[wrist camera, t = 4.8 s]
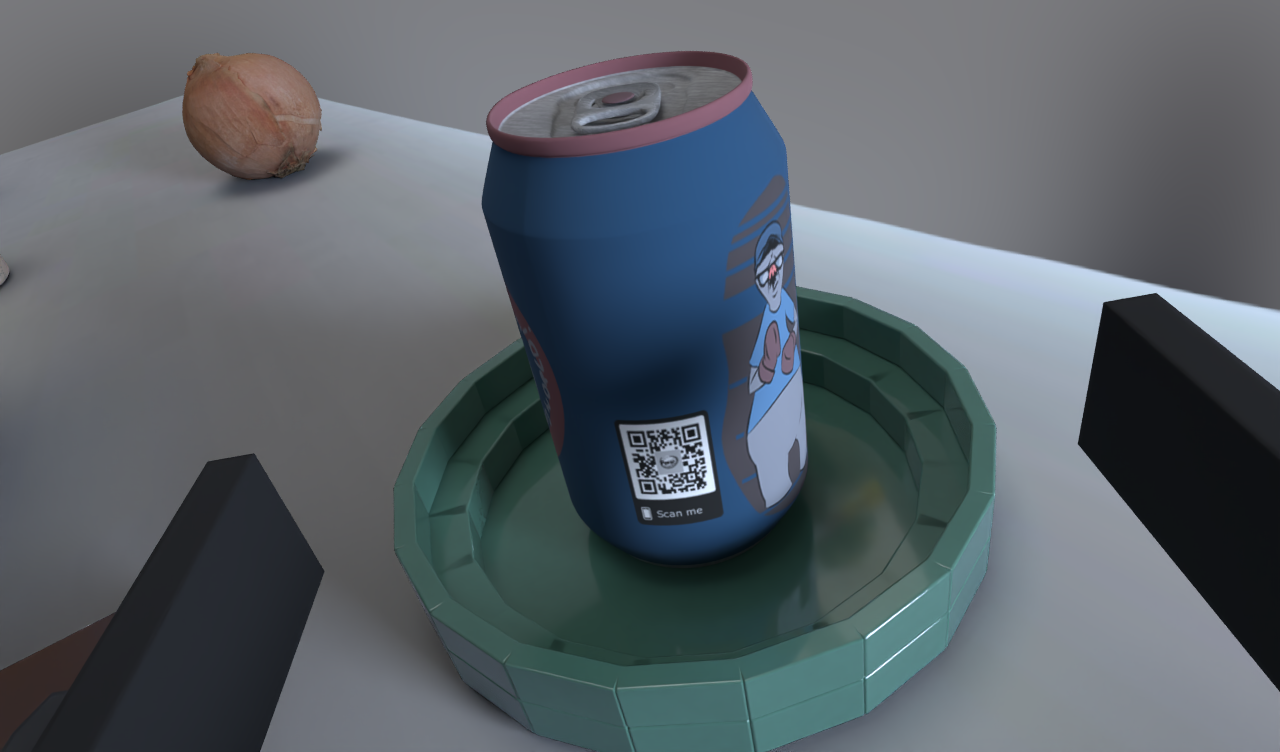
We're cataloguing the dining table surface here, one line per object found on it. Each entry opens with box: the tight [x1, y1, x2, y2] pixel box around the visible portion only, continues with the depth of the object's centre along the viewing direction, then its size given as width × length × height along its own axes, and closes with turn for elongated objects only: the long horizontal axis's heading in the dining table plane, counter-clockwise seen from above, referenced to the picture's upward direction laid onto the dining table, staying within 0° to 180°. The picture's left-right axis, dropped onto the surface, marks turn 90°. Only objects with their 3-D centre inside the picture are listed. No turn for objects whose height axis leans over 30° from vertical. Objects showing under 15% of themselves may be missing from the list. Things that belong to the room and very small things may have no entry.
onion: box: [182, 53, 322, 180], centre depth 58 cm, size 10×9×10 cm
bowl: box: [393, 286, 997, 752], centre depth 23 cm, size 16×16×3 cm
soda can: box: [482, 51, 808, 568], centre depth 20 cm, size 7×7×12 cm
